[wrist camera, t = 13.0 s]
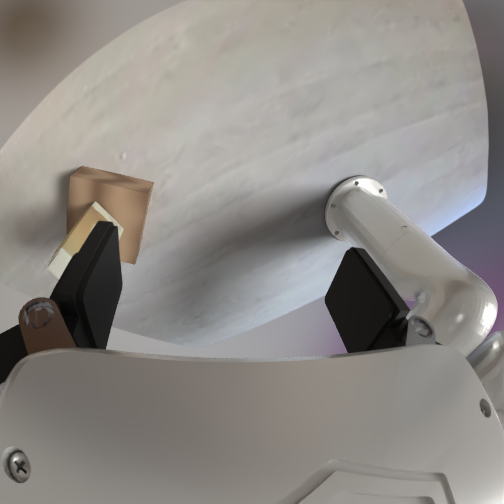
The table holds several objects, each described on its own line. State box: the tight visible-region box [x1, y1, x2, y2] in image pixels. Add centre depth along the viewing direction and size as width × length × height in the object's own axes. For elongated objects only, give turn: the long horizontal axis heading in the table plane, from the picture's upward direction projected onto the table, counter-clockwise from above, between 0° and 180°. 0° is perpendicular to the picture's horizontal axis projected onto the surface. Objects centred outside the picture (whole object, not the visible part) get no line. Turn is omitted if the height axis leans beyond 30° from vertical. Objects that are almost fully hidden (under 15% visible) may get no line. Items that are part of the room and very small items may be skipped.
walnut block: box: [67, 166, 154, 264], centre depth 37 cm, size 12×12×5 cm
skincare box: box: [46, 201, 124, 280], centre depth 29 cm, size 6×4×12 cm
